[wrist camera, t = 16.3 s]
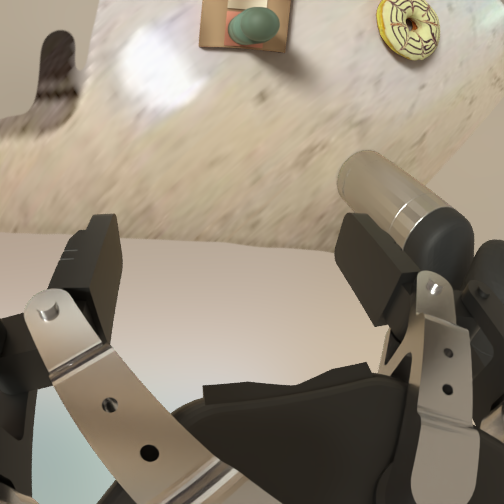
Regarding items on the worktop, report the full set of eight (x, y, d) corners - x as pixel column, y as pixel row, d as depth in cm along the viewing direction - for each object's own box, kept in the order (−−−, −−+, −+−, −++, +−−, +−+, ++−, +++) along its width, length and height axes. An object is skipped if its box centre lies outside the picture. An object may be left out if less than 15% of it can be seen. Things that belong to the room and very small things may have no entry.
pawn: (265, 17, 27) (290, 7, 20) (259, 47, 30) (283, 46, 23) (230, 11, 26) (245, -2, 19) (225, 42, 29) (238, 39, 22)
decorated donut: (433, 56, 33) (449, 59, 30) (379, 60, 33) (394, 63, 31) (421, -5, 27) (438, -6, 24) (363, -8, 27) (379, -11, 24)
